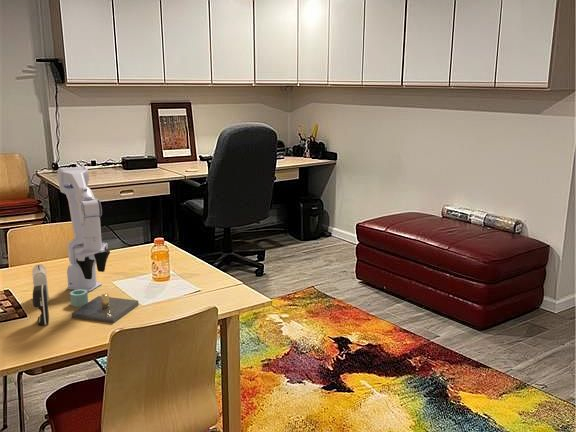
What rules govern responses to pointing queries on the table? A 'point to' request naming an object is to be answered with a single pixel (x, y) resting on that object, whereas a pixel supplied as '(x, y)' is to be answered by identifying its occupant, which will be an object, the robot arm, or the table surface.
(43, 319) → the battery charger
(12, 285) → the table surface
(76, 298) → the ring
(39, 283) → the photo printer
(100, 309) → the hub plate
